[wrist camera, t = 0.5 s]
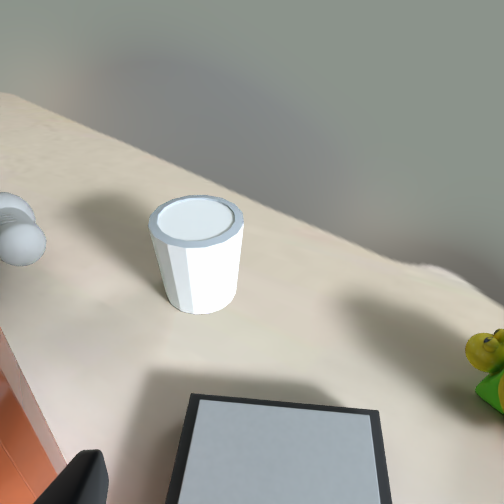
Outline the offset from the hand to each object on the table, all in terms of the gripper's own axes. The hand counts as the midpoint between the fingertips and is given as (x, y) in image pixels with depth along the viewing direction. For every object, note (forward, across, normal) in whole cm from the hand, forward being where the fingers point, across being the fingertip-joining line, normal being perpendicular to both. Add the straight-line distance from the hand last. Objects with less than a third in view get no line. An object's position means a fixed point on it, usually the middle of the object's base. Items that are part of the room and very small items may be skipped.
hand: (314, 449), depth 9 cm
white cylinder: (+25, +5, +11) cm, 28 cm away
